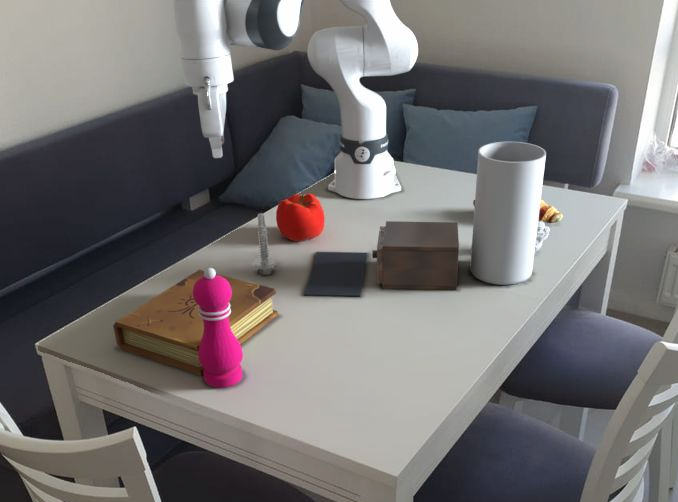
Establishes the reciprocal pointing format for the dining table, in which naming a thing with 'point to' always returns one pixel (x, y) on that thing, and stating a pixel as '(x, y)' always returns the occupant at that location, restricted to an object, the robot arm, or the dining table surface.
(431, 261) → the cabinet
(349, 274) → the mat
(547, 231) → the frog figurine
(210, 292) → the pepper mill
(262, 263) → the screw
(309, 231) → the tomato
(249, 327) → the diary
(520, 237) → the cylinder vase
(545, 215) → the croissant
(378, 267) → the drawer
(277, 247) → the dining table surface
